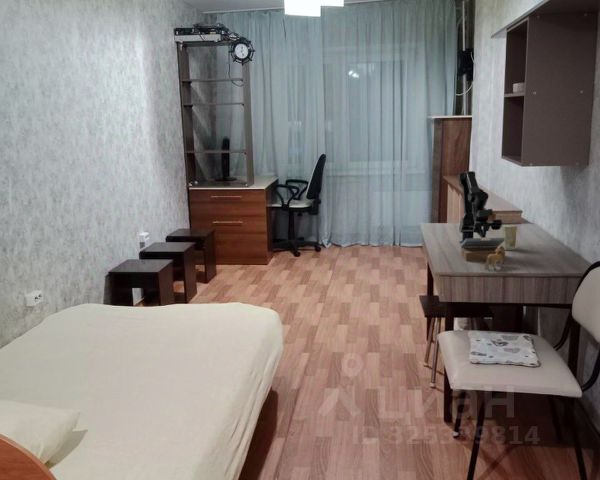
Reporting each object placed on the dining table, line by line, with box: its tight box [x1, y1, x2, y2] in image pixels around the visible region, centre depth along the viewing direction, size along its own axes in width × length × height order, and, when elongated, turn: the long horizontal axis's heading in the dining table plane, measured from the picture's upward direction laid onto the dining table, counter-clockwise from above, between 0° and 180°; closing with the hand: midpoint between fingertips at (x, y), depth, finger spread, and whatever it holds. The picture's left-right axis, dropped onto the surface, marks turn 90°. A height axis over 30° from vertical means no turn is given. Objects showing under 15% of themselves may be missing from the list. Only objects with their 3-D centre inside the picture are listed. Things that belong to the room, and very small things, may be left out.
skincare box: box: [499, 224, 518, 251], centre depth 291 cm, size 6×4×12 cm
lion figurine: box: [484, 245, 506, 270], centre depth 259 cm, size 15×5×9 cm, turn 138°
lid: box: [460, 237, 505, 248], centre depth 276 cm, size 13×18×1 cm
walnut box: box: [460, 246, 506, 262], centre depth 277 cm, size 12×18×4 cm, turn 87°
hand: (483, 239), depth 273 cm, fingers closed, pressing on lid
